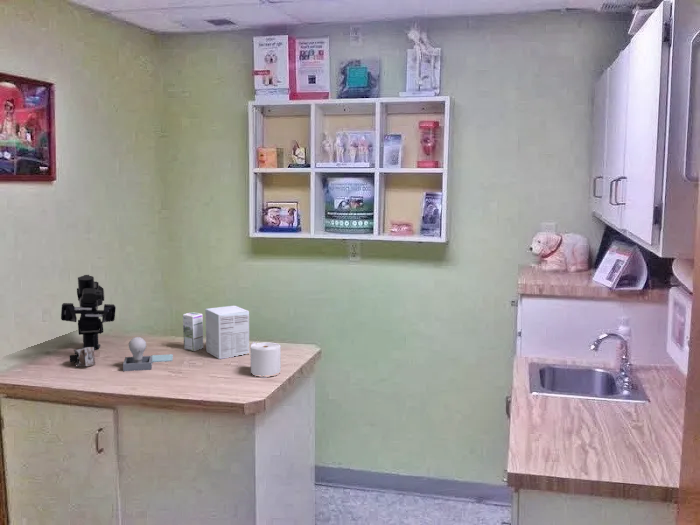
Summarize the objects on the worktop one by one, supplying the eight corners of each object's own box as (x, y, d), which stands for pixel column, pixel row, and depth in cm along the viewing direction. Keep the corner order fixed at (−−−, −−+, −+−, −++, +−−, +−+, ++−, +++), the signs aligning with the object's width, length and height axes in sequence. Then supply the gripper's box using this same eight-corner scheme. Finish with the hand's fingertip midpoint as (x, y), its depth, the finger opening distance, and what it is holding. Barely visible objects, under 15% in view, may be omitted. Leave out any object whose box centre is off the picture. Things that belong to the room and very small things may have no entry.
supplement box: (250, 354, 264) (250, 310, 262) (218, 359, 257) (218, 314, 255) (236, 347, 275) (235, 305, 273) (205, 351, 268) (204, 308, 266)
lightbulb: (150, 366, 247) (149, 337, 246) (134, 370, 243) (133, 340, 241) (141, 363, 251) (140, 334, 250) (126, 366, 247) (125, 337, 245)
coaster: (151, 356, 260) (151, 355, 260) (172, 355, 262) (172, 354, 262) (150, 362, 253) (150, 361, 253) (172, 360, 255) (172, 359, 254)
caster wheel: (77, 366, 255) (102, 363, 254) (61, 369, 244) (87, 366, 242) (76, 349, 255) (101, 346, 254) (59, 350, 244) (85, 347, 243)
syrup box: (204, 348, 273) (203, 313, 271) (193, 351, 268) (192, 315, 266) (193, 346, 276) (193, 311, 274) (183, 349, 271) (182, 313, 269)
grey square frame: (125, 363, 250) (125, 357, 250) (152, 362, 253) (152, 355, 252) (123, 371, 241) (123, 364, 241) (151, 369, 243) (151, 362, 243)
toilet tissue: (272, 379, 234) (272, 351, 232) (241, 375, 238) (241, 347, 237) (285, 370, 244) (285, 343, 242) (256, 367, 248) (255, 340, 247)
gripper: (62, 284, 253) (63, 299, 239) (115, 286, 260) (118, 301, 247) (60, 311, 256) (61, 328, 242) (112, 313, 263) (115, 329, 250)
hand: (89, 321), depth 245 cm, fingers open, 9 cm apart
